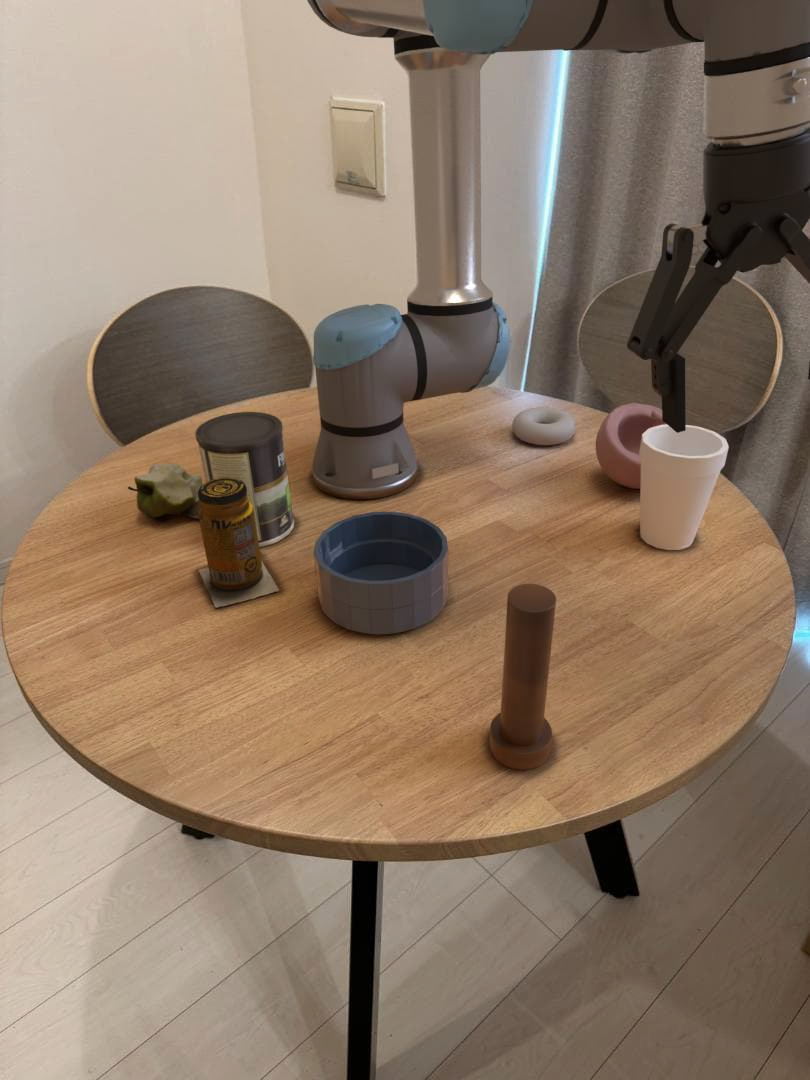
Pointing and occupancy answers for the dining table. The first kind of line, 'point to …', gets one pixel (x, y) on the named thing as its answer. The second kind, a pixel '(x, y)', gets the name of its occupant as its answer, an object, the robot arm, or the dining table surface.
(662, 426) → the foam cup
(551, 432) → the donut
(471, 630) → the dining table surface
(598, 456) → the pink hollowed ball
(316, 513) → the dining table surface
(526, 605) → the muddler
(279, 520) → the coffee can
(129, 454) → the dining table surface
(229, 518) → the condiment
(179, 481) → the fruit
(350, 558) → the bowl
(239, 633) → the dining table surface
